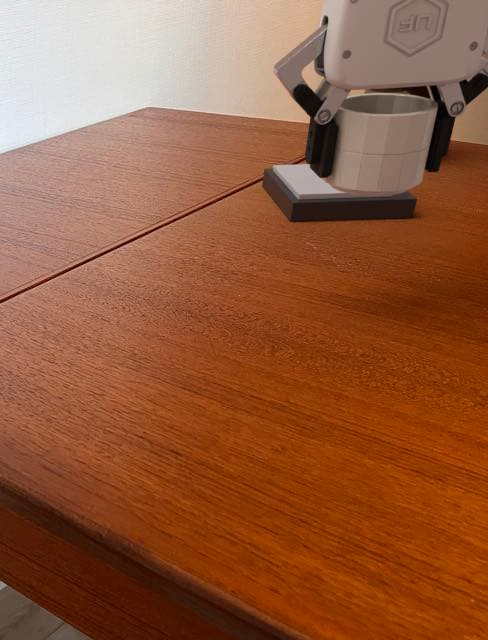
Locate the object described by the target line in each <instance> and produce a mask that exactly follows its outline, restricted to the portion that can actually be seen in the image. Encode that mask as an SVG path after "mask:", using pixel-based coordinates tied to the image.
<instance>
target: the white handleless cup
mask: <svg viewBox="0 0 488 640" xmlns="http://www.w3.org/2000/svg"><path fill="white" fill-rule="evenodd" d="M437 109H438V103H437V102H435V101H433V100H431V99H429V98H424V97H420V96H415V95H407V94H397V93H370V94H364V93H357V94H352V95H351V94H350V95H348V96H347V97H346V99H345V100H344V102H343V103H342V105H341V106H340V108H339V109H338V111H337V112H336V114H335V115H334V121H333V122H334V123H336V124H337V125H338V134H337V141H336V147H335V153H334V160H333V166H332V172H331V175H330V176H328V178H322V179H323V180H324V181H325V182H326V183H329V184H330V186H331V187H332V188H334V189H336V190H339V191H341V192H345V193H349V194H355V195H363V196H389V195H396V194H400V193H404V192H406V191H408V192H409V191H410V190H411V189H414V188H415V187H417V186H419V185H420V184H422V183H423V179H424V174H425V171H426V170H425V165H426V160H427V156H428V151H429V146H430V142H431V137H432V132H433V128H434V123H435V118H436V114H437Z"/></svg>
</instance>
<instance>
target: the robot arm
mask: <svg viewBox="0 0 488 640" xmlns="http://www.w3.org/2000/svg"><path fill="white" fill-rule="evenodd" d="M320 14H321V15H320V19H319V24H318V28H317V29H316V30H314V31H313V32H312V33H311V34H310V35H309V36H308V37H306V38H305V39H304V40H303V41H301V42H300V43H299V44H298V45H297V46H296V47H295V48H293V49H291V51H289V52H288V53H287V54H286V55H285V56H283V57H282V58H281V59H280V60H278V61H277V62H276V63H275V64H274V66H273V73H274V75H275V76H276V78H277V79H278V81H279V82H280V83H281V85H282V86H283V87H284V89H285V90H286V91H287V93H288V94H289V96H290V97H291V98H292V99H293V101H294V102H295V103H296V104H297V105H298V106H299V107H300V108H301V109H302V110H303V111H304V112H305V114H306V115H307V116H309V123H308V130H307V138H306V145H305V153H304V160H305V164H310V168H311V170H312V171H313V172H314V173H315V174H316V175H317V176H318V177H319V178H328V176H330V175H331V172H332V166H333V160H334V153H335V147H336V141H337V134H338V125H337V124H336V123H334V122H333V121H334V115H335V114H336V112H337V111H338V109H339V108H340V106H341V105H342V103H343V102H344V100H345V99H346V97H347V96H349V94H350V92H351V91H362V90H363V91H365V89H383V88H400V87H416V86H427V88H428V91H429V94H430V97H431V100H433V101H435V102H437V103H438V109H437V114H436V118H435V123H434V128H433V132H432V137H431V142H430V146H429V151H428V156H427V160H426V165H425V170H424V171H426V172H428V173H438V172H439V171H440V169H441V165H442V164H441V163H442V159H443V158H445V157H447V155H448V153H449V149H450V144H451V139H452V135H453V131H454V126H455V122H456V119H457V117H460V116H462V115H463V114H464V112H465V111H466V109H467V106H468V105H469V104H471V102H473V101H474V100H475V99H476V98H477V97H478V96H479V95H481V94H482V93H483V92H485V90H487V88H488V0H323V5H322V10H321V13H320ZM312 62H313V68H314V72H315V73H316V74H318V75H319V76H320V77H323V78H322V80H321V82H320V83H319V84H318V86H317V87H316V89H315V91H314V90H313V89H312V88H311V87H310V86H309V85H308V83H307V82H306V80H305V79H304V78H303V74H302V73H303V71H304V69H305V68H306V67H307V66H308V65H310V63H312Z"/></svg>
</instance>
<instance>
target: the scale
mask: <svg viewBox="0 0 488 640" xmlns="http://www.w3.org/2000/svg"><path fill="white" fill-rule="evenodd" d="M261 187H262V188H263V189H264V190H265V192H266V193H267V194H268V195H269V197H270V198H271V200H272V201H273V202H274V203H275V204H276V206H277V207H278V208H279V209H280V210H281V212H282V213H283V214H284V215H285V217H286V218H287V219H288V221H289V222H292V223H293V222H318V221H319V222H321V221H323V222H324V221H352V220H353V221H354V220H386V219H413V218H414V214H415V210H416V205H417V201H418V198H417V197H416V196H415V195H414V194H412V193H411V192H410V191H409V190H408V191H406V192H404V193H400V194H396V195H389V196H363V195H355V194H349V193H345V192H341V191H339V190H336V189H334V188H332V187H331V186H330V184H329V183H326V182H325V181H324V180H323V179H322V178H319V177H318V176H317V175H316V174H315V173H314V172H313V171H312V170H311V168H310V164H307V163H300V164H299V163H298V164H274V165H273V166H272V168H264V169H263V177H262V184H261Z"/></svg>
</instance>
